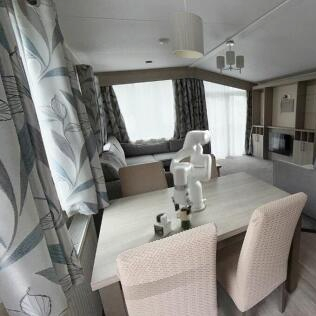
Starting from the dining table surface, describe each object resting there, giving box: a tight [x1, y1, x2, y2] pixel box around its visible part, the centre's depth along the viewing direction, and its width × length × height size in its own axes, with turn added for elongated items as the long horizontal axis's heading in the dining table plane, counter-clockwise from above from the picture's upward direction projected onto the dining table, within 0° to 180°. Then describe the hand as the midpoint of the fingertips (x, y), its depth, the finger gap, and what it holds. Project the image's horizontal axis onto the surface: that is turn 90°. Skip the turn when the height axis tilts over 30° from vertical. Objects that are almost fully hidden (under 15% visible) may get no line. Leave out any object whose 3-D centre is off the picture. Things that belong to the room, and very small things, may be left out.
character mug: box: [175, 206, 195, 230], centre depth 124 cm, size 11×7×13 cm, turn 122°
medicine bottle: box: [153, 212, 173, 238], centre depth 119 cm, size 7×7×12 cm
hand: (183, 212), depth 122 cm, fingers open, 9 cm apart
